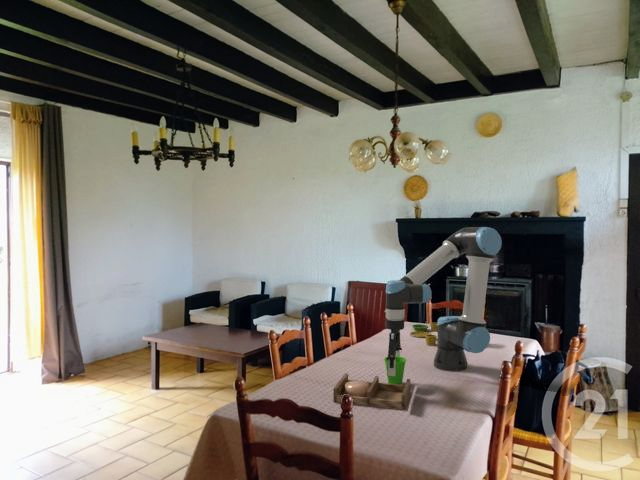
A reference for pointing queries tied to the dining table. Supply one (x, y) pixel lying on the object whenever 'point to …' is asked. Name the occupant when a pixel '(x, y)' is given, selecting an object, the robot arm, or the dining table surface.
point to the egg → (356, 388)
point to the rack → (377, 394)
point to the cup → (398, 372)
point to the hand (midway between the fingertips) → (394, 370)
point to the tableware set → (425, 333)
